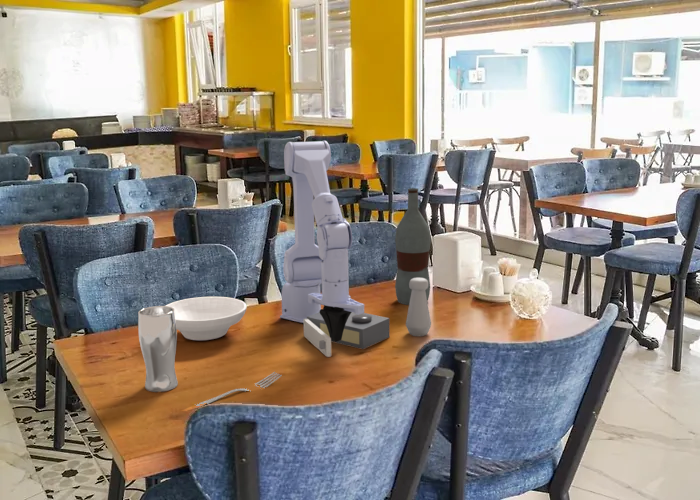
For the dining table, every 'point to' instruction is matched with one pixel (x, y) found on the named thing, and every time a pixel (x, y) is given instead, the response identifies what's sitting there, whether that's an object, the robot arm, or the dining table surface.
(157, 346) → the beer glass
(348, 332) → the camera housing
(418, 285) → the salt shaker
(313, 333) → the door
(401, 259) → the bottle
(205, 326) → the bowl
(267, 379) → the fork
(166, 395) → the dining table surface
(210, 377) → the dining table surface
